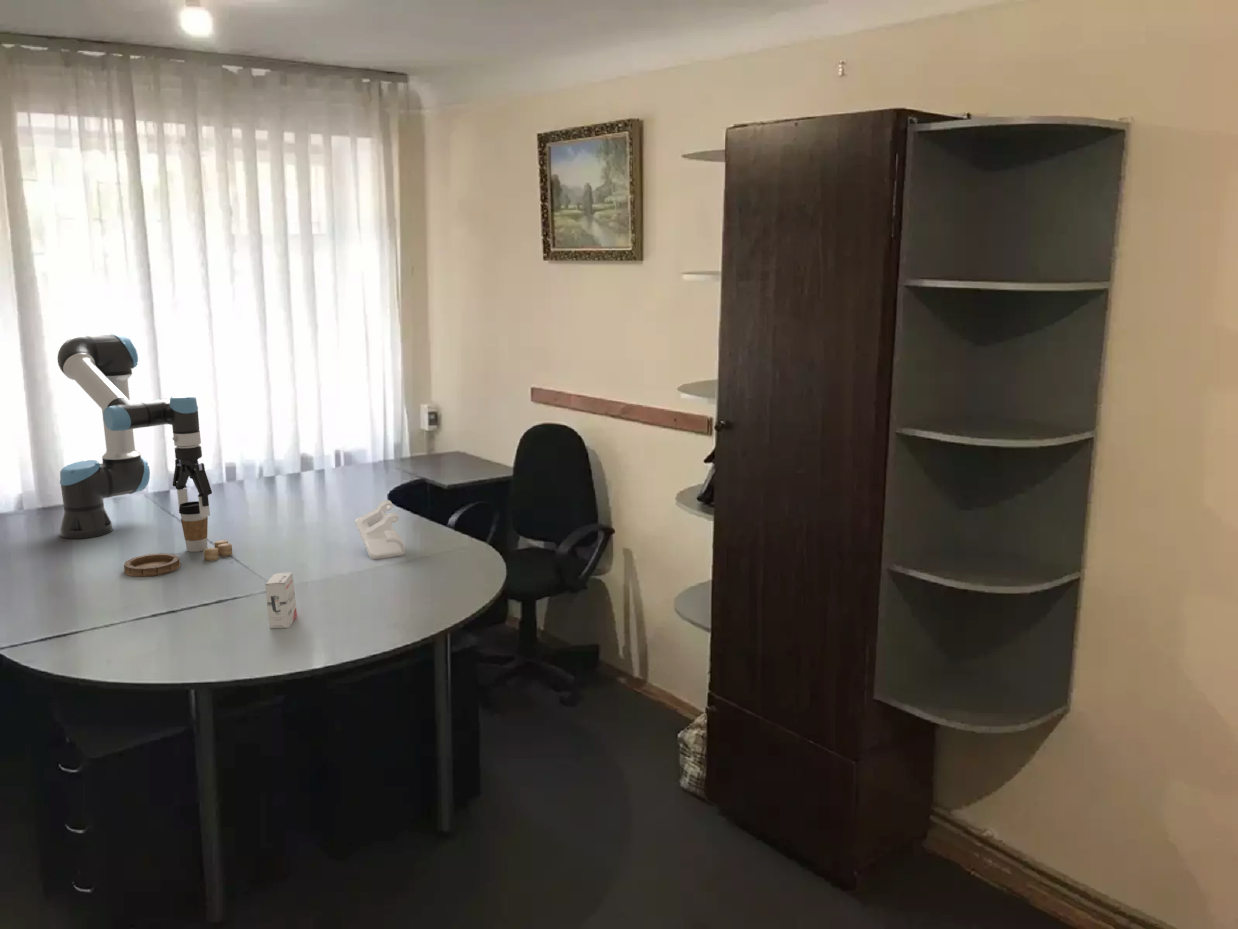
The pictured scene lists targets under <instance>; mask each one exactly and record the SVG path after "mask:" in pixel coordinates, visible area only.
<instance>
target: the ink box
mask: <svg viewBox="0 0 1238 929" xmlns="http://www.w3.org/2000/svg"><path fill="white" fill-rule="evenodd" d="M294 583H295V582H294V576H293V572H279V573H278V572H277V573H273V575H271V577H270V578H269V579H268V580H267V582H266V583H265V584H264V587H265V594H266V604H267V605H266V606H267V613H268V614H267V615H268V622H269V628H270V629H289V628H290V627H291V626H292V624H293V622H294V621H295V619H296V617H297V616H298V615H297V614H298V613H297V612H298V611H297V605H296V594H295V585H294Z"/></svg>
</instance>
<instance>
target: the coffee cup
mask: <svg viewBox="0 0 1238 929" xmlns="http://www.w3.org/2000/svg"><path fill="white" fill-rule="evenodd" d="M178 514H180V523H181V527H182V532H183V537H184V541H185V546H186V551H187V552H191V553H193V552H194V553H196V552H204V550H205V549H207V548H208V528H209V527H208V522H209V521H208V520H209V519H208V518H209V516H205V517H200V509H199V500H198V501H188V502H186V503H182V504H180V508H179V507H178Z"/></svg>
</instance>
